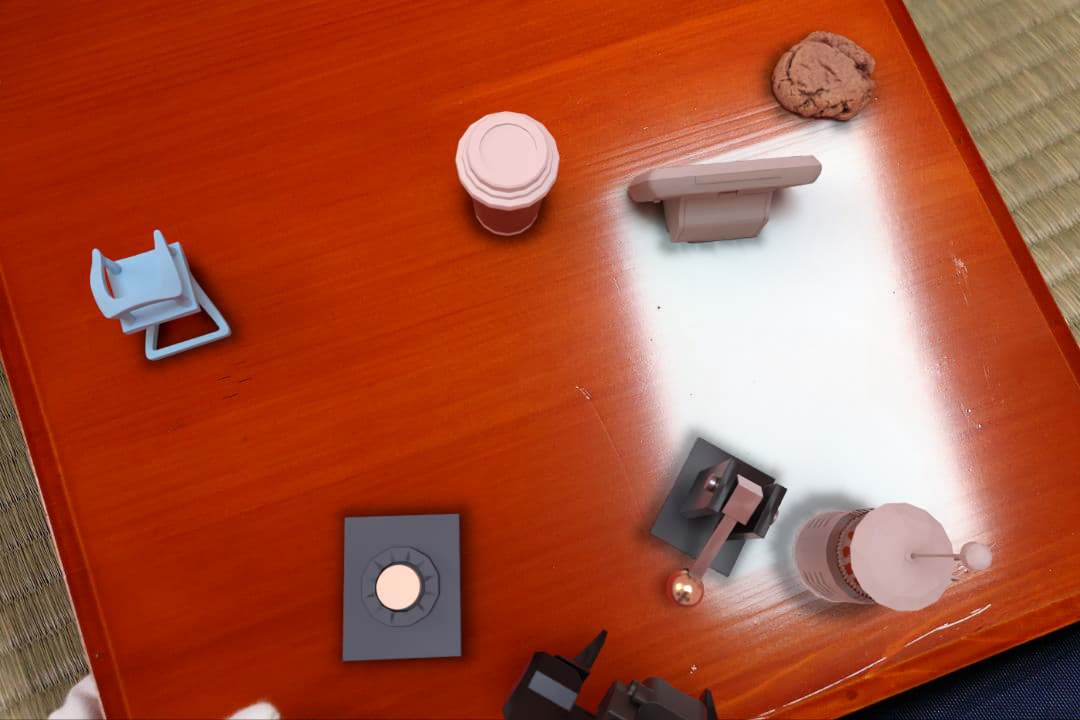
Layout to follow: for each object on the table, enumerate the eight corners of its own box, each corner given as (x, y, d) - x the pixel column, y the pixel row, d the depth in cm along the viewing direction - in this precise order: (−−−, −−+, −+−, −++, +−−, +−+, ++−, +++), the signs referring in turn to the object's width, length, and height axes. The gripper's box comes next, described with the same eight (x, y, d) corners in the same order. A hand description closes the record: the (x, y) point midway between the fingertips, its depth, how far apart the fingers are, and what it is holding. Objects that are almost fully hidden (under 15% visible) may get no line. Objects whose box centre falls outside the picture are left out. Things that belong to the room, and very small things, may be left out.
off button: (421, 607, 73) (420, 608, 71) (378, 609, 73) (376, 610, 71) (421, 563, 74) (419, 564, 72) (379, 565, 74) (376, 565, 72)
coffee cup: (459, 163, 86) (453, 101, 74) (550, 161, 87) (558, 100, 75) (461, 249, 84) (455, 200, 72) (554, 247, 85) (563, 198, 73)
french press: (786, 493, 80) (912, 466, 56) (909, 514, 80) (1087, 496, 56) (776, 601, 78) (902, 622, 54) (902, 622, 78) (1085, 653, 54)
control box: (462, 653, 76) (460, 658, 72) (347, 658, 75) (339, 663, 71) (460, 514, 79) (458, 512, 75) (349, 518, 78) (341, 516, 74)
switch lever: (693, 604, 74) (693, 622, 70) (660, 585, 74) (658, 602, 71) (766, 488, 71) (769, 501, 68) (731, 469, 71) (733, 481, 68)
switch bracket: (724, 576, 78) (765, 581, 66) (647, 533, 79) (673, 529, 67) (771, 480, 81) (819, 467, 69) (696, 438, 81) (730, 418, 69)
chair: (209, 256, 83) (161, 207, 71) (232, 335, 81) (188, 299, 69) (129, 281, 82) (67, 236, 70) (151, 362, 80) (91, 329, 69)
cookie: (752, 65, 90) (761, 49, 87) (837, 25, 92) (848, 8, 89) (802, 144, 88) (813, 130, 85) (888, 101, 90) (901, 86, 87)
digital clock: (787, 172, 88) (826, 121, 77) (785, 256, 86) (824, 215, 75) (628, 156, 87) (645, 102, 77) (622, 240, 85) (640, 197, 75)
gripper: (805, 860, 51) (814, 663, 64) (526, 697, 52) (592, 538, 65) (712, 937, 56) (739, 742, 70) (464, 790, 58) (536, 626, 71)
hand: (654, 662), depth 69 cm, fingers open, 9 cm apart
